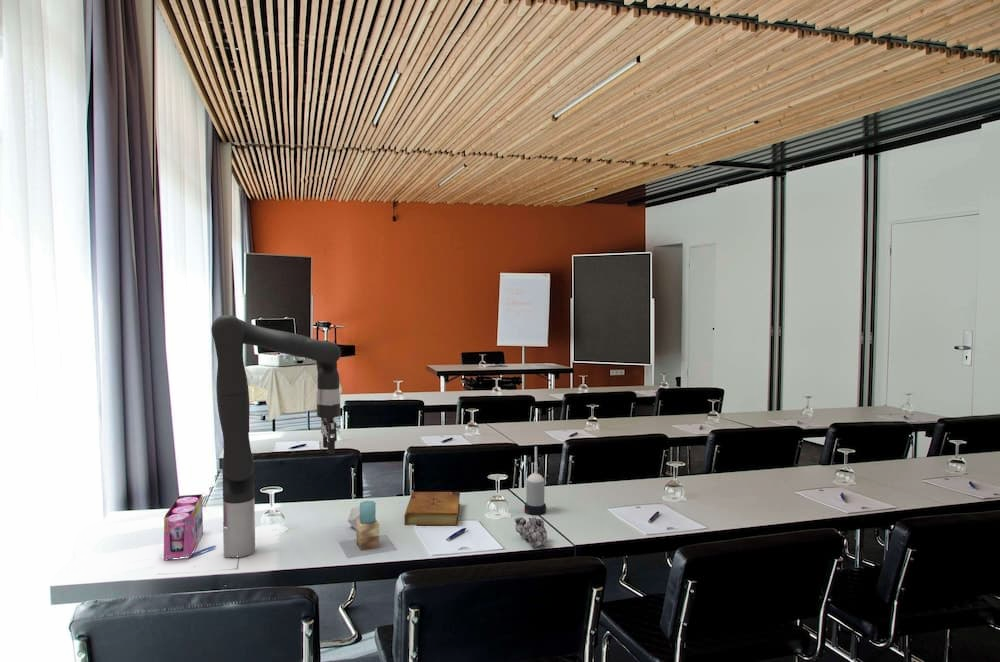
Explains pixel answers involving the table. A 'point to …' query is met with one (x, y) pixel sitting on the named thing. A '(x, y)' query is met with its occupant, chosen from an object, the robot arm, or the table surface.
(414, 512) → the diary
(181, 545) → the gum box
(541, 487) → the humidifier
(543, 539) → the mineral specimen
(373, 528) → the oak block
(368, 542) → the walnut block
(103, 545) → the table surface
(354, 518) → the die
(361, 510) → the teal cylinder
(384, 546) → the slate mat
